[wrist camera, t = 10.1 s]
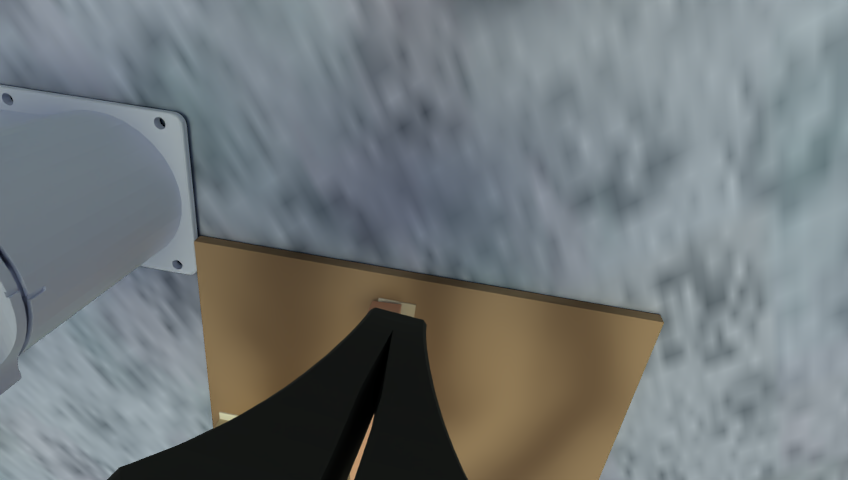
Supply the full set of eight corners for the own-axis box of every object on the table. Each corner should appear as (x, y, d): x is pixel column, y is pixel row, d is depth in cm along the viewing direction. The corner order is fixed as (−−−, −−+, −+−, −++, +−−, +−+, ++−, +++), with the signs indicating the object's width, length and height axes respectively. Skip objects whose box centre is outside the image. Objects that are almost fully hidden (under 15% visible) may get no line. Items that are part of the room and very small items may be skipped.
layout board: (224, 481, 32) (219, 490, 31) (200, 235, 24) (192, 241, 23) (563, 551, 31) (564, 562, 30) (659, 314, 22) (664, 323, 22)
